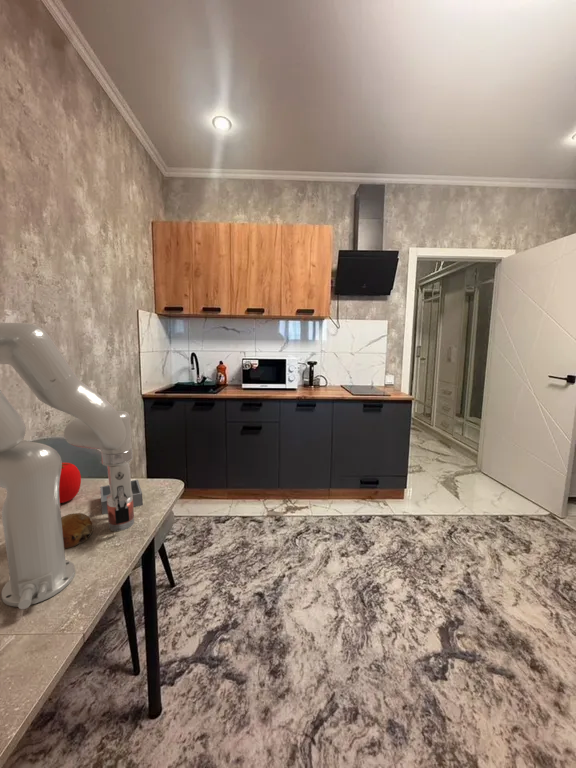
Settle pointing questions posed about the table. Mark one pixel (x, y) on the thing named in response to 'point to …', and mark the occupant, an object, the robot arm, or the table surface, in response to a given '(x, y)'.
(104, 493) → the crate
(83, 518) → the bread roll
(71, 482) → the tomato
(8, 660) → the table surface
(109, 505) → the red drink can
